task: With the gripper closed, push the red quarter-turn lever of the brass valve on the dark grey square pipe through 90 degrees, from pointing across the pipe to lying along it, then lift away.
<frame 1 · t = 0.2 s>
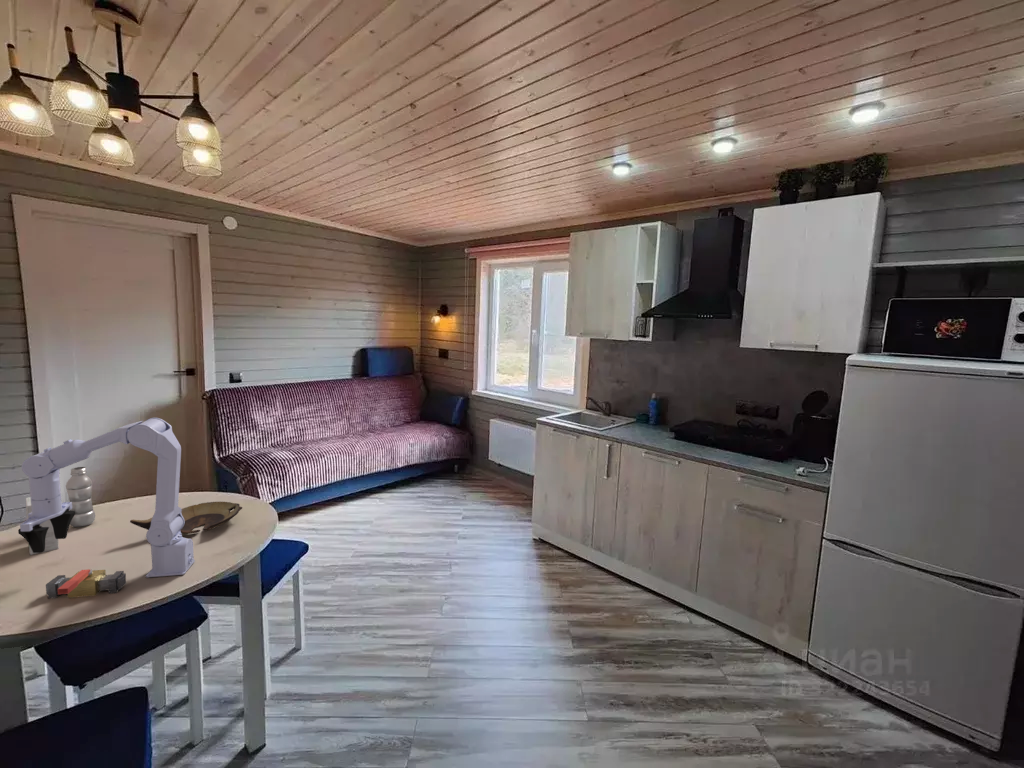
hand: (50, 545, 125), 10 cm above the table, fingers open, 7 cm apart
lever: (76, 580, 118), point 5 cm above the table, hinge at 90.0°
pipe valve: (87, 591, 122), on the table
olive brown leaf dish: (191, 528, 160), on the table
plastic bottle: (82, 525, 158), on the table
skincare box: (44, 547, 143), on the table
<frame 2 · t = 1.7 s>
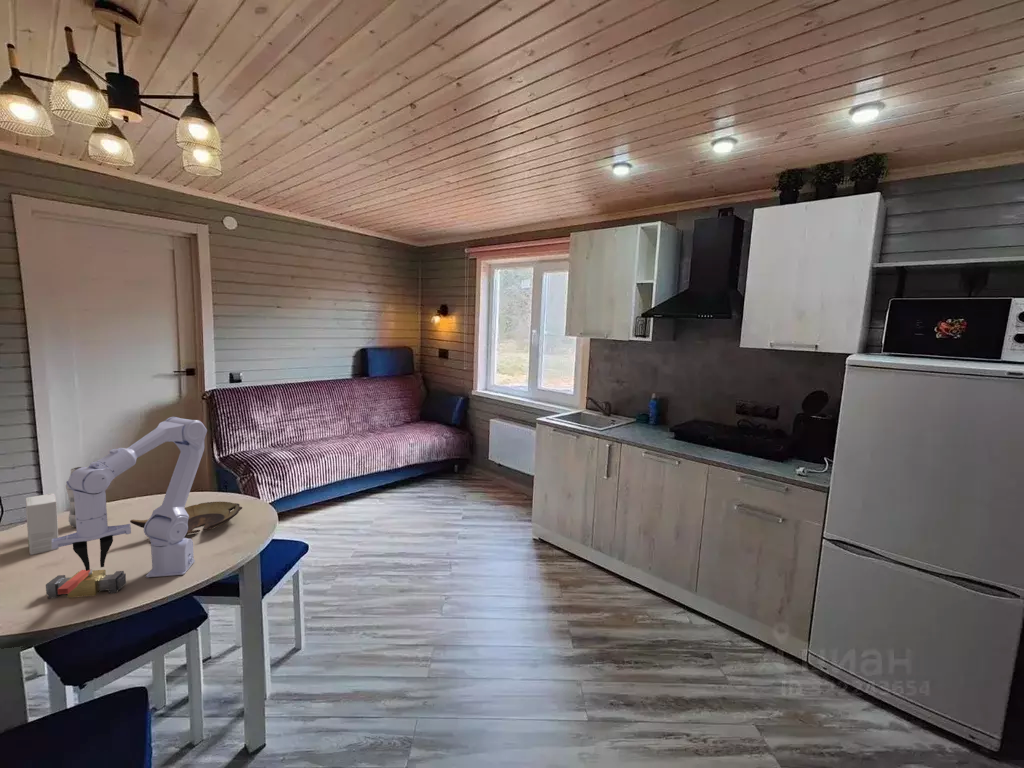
hand: (95, 567, 116), 10 cm above the table, fingers closed
nothing on the table moved.
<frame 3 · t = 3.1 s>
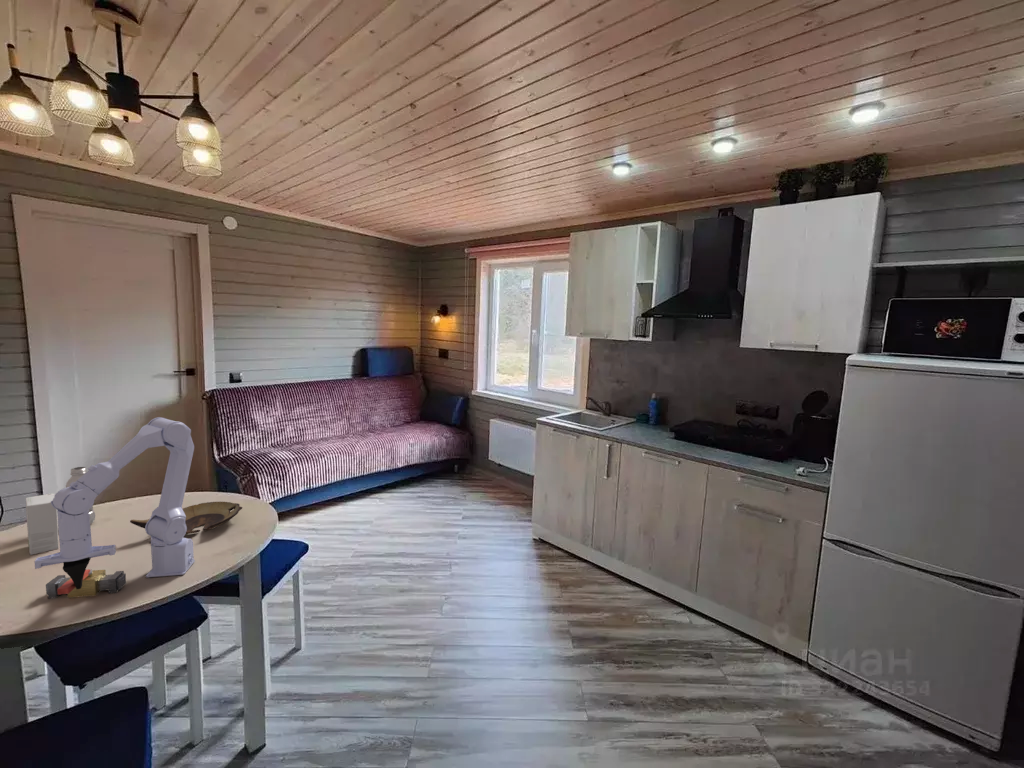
hand: (79, 587, 116), 5 cm above the table, fingers closed, pressing on lever
lever: (76, 580, 118), point 5 cm above the table, hinge at 89.8°, touching gripper
everything else where it was.
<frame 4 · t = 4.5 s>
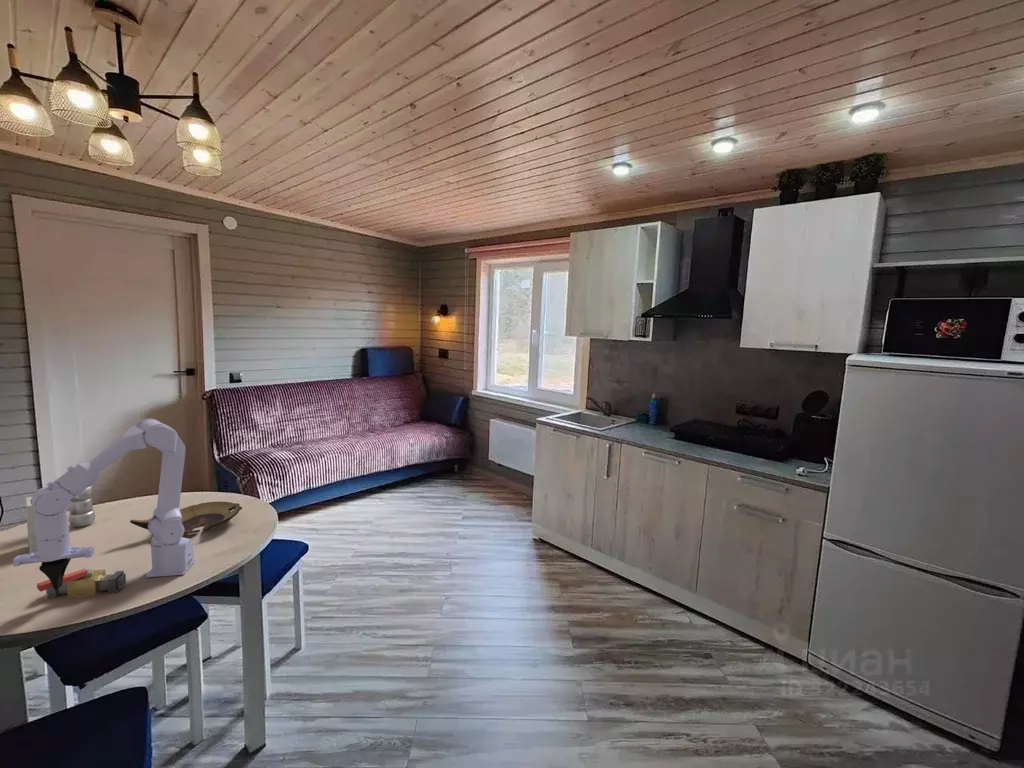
hand: (57, 587, 115), 5 cm above the table, fingers closed, pressing on lever
lever: (66, 578, 118), point 5 cm above the table, hinge at 44.4°, touching gripper
everything else where it was.
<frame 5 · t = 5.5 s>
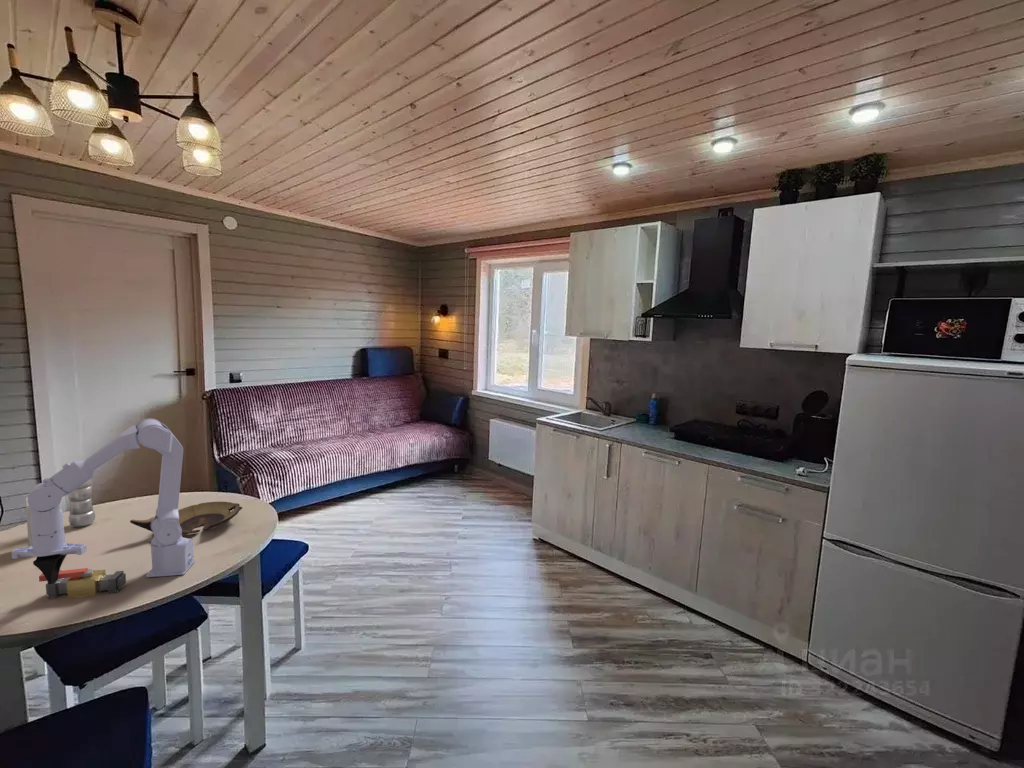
hand: (52, 581, 118), 5 cm above the table, fingers closed, pressing on lever
lever: (67, 574, 120), point 5 cm above the table, hinge at 6.5°, touching gripper
everything else where it was.
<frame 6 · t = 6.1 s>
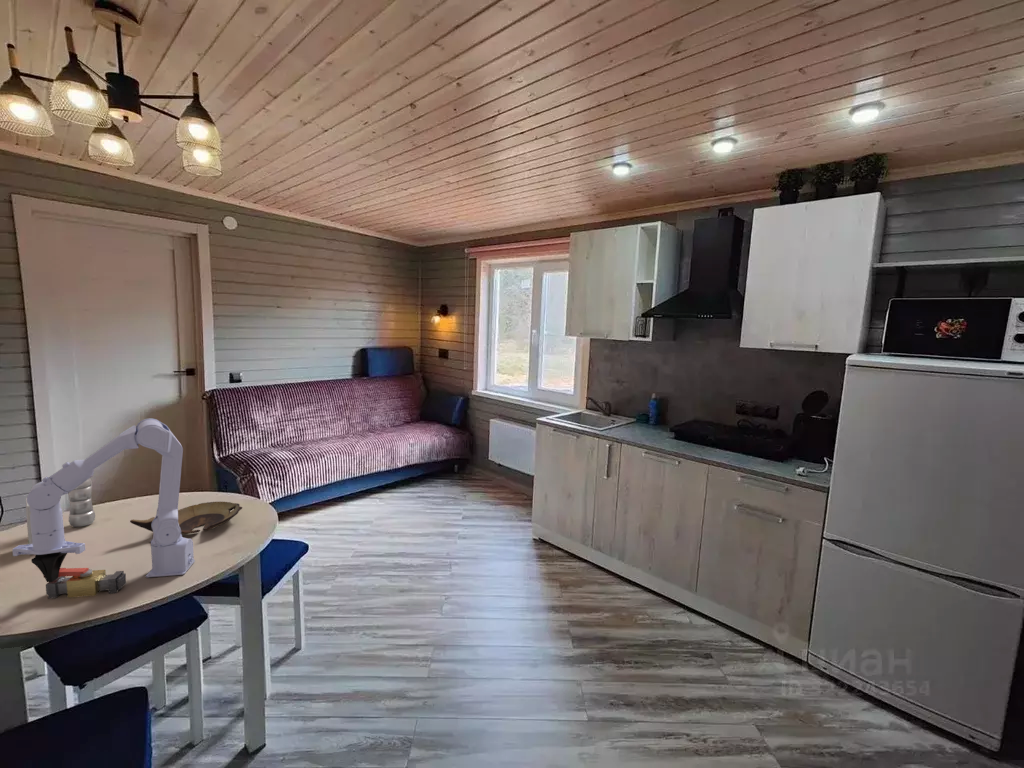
hand: (52, 579, 118), 5 cm above the table, fingers closed, pressing on lever
lever: (69, 572, 121), point 5 cm above the table, hinge at -5.7°, touching gripper
everything else where it was.
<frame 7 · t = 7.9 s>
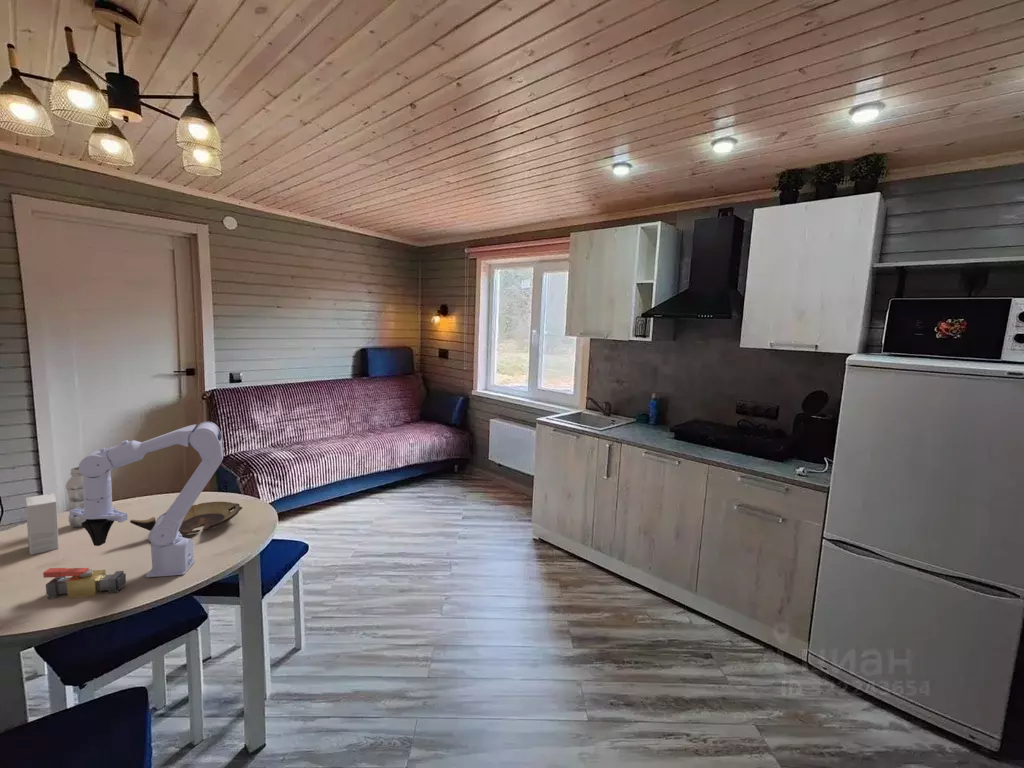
hand: (99, 544, 126), 10 cm above the table, fingers closed
lever: (69, 572, 121), point 5 cm above the table, hinge at -5.8°
everything else where it was.
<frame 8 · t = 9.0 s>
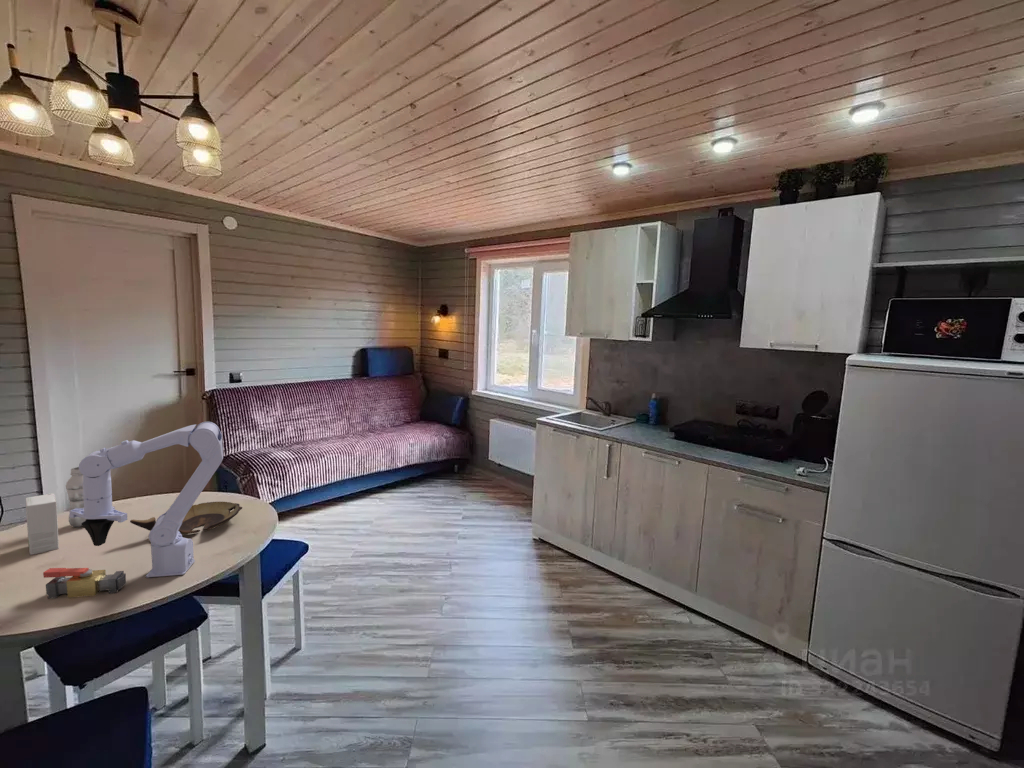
hand: (99, 544, 126), 10 cm above the table, fingers closed
nothing on the table moved.
at the end: lever at -6° (first picture: +90°); lever touching nothing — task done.
